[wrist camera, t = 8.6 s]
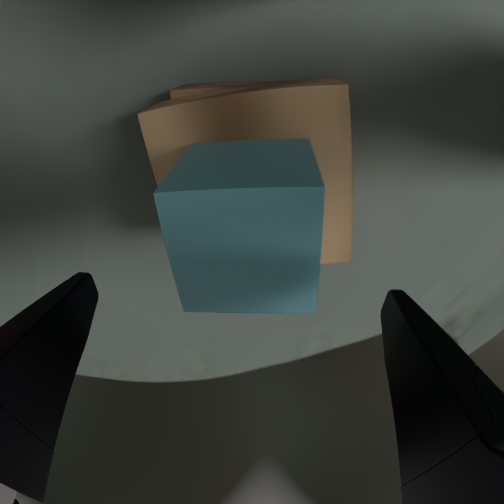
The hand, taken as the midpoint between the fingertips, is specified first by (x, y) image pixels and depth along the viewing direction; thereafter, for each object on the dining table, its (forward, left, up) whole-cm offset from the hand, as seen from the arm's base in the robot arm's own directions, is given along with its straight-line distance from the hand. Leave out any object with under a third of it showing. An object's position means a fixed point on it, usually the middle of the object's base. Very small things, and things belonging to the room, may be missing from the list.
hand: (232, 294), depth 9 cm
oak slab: (0, 0, -10) cm, 10 cm away
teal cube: (0, 0, -7) cm, 7 cm away
